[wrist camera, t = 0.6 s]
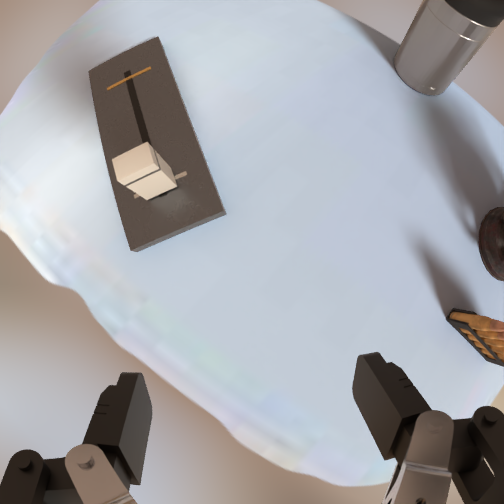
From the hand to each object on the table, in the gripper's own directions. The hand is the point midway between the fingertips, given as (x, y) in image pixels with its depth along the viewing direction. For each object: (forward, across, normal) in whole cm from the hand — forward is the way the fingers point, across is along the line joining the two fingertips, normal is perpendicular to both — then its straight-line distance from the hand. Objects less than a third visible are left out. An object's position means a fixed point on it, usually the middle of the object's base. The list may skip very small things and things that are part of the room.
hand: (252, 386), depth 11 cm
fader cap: (+29, +8, -5) cm, 31 cm away
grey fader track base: (+35, +10, -11) cm, 38 cm away
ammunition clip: (+18, -31, +15) cm, 39 cm away
